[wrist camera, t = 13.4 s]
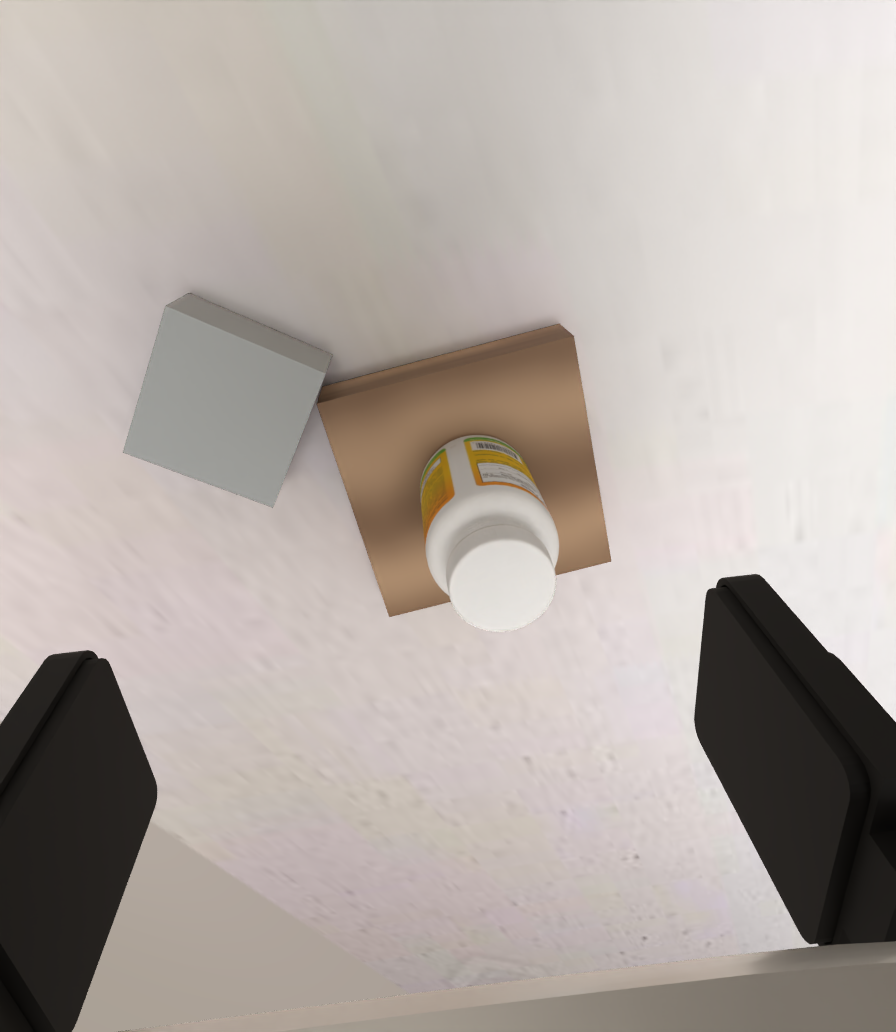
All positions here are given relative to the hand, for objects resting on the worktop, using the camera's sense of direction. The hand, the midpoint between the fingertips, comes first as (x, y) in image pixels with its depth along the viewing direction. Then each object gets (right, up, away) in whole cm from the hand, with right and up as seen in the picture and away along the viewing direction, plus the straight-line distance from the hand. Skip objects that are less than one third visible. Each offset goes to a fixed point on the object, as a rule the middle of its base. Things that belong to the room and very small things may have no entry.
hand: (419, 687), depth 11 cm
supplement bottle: (+2, +4, +23) cm, 24 cm away
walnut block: (+2, +5, +26) cm, 27 cm away
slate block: (-10, +9, +24) cm, 27 cm away
